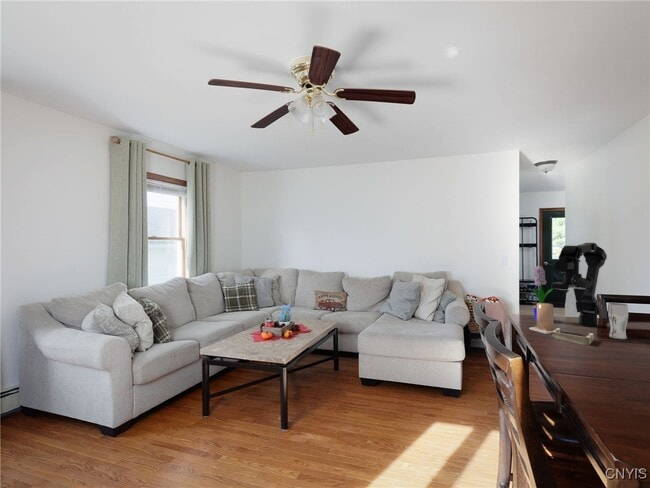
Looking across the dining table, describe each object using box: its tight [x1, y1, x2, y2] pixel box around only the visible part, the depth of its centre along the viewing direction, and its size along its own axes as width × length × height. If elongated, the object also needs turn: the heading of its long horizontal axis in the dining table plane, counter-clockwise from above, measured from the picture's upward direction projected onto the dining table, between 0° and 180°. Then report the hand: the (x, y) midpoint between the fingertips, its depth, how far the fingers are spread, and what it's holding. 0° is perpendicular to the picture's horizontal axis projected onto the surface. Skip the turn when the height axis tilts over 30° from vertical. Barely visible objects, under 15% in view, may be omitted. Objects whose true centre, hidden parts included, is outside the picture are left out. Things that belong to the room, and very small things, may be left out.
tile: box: [529, 326, 554, 335], centre depth 167 cm, size 9×9×1 cm
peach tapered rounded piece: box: [534, 302, 556, 331], centre depth 167 cm, size 7×7×12 cm
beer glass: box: [607, 302, 629, 340], centre depth 154 cm, size 7×7×15 cm
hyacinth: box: [530, 265, 554, 322], centre depth 187 cm, size 9×10×30 cm
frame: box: [550, 327, 595, 346], centre depth 152 cm, size 10×13×3 cm
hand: (571, 303), depth 167 cm, fingers open, 9 cm apart
